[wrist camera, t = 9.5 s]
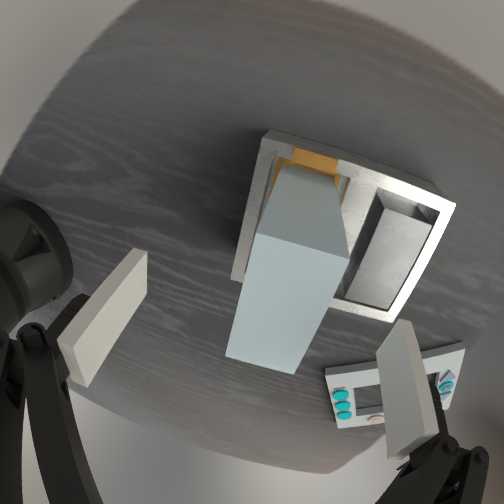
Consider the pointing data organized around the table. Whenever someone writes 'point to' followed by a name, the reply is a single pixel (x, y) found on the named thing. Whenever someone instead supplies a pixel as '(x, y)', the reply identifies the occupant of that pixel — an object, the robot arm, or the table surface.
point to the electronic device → (367, 374)
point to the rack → (358, 221)
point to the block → (290, 271)
